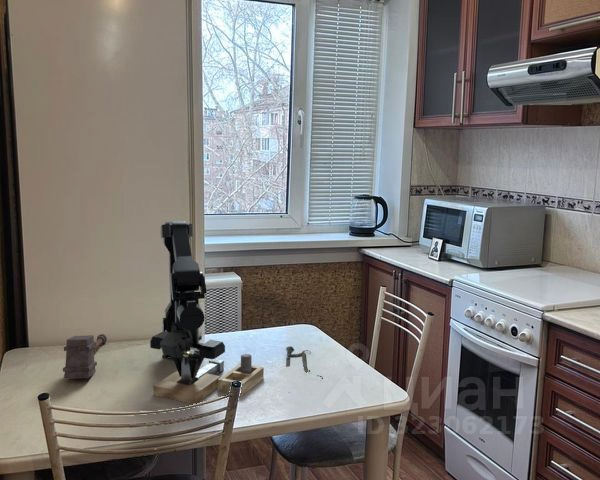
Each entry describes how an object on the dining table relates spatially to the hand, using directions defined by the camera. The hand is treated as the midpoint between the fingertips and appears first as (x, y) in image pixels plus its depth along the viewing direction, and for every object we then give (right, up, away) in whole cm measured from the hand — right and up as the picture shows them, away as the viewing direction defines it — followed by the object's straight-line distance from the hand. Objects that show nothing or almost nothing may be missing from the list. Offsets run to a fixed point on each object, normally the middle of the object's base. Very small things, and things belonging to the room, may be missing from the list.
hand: (187, 377), depth 146 cm
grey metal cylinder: (0, -3, +1) cm, 3 cm away
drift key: (+3, -2, +9) cm, 10 cm away
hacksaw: (+29, -1, +20) cm, 35 cm away
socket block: (0, -3, +1) cm, 3 cm away
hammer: (-31, 0, +19) cm, 37 cm away
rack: (+13, -3, +5) cm, 14 cm away
